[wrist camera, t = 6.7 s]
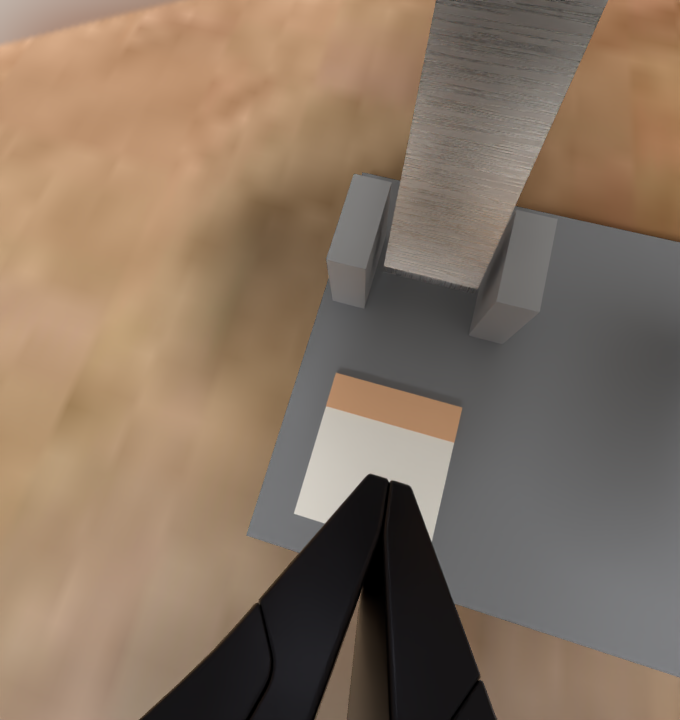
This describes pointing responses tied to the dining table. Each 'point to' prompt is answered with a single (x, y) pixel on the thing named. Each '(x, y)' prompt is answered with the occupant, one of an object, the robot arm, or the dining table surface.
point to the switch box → (504, 421)
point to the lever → (480, 129)
